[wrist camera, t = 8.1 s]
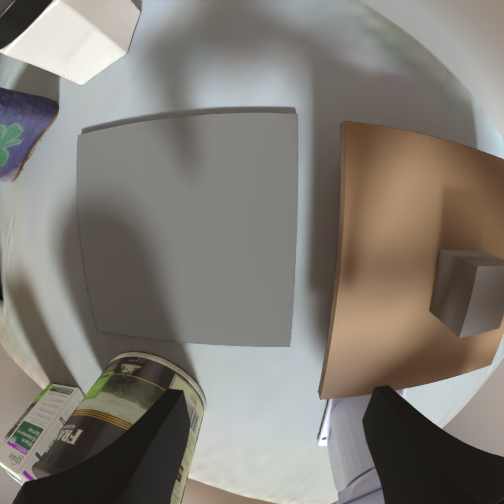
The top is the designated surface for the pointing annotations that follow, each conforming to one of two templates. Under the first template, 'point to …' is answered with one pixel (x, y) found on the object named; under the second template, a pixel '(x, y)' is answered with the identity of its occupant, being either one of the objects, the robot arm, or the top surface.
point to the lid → (414, 262)
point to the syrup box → (37, 430)
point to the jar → (67, 34)
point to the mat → (191, 227)
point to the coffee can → (123, 413)
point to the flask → (21, 128)
